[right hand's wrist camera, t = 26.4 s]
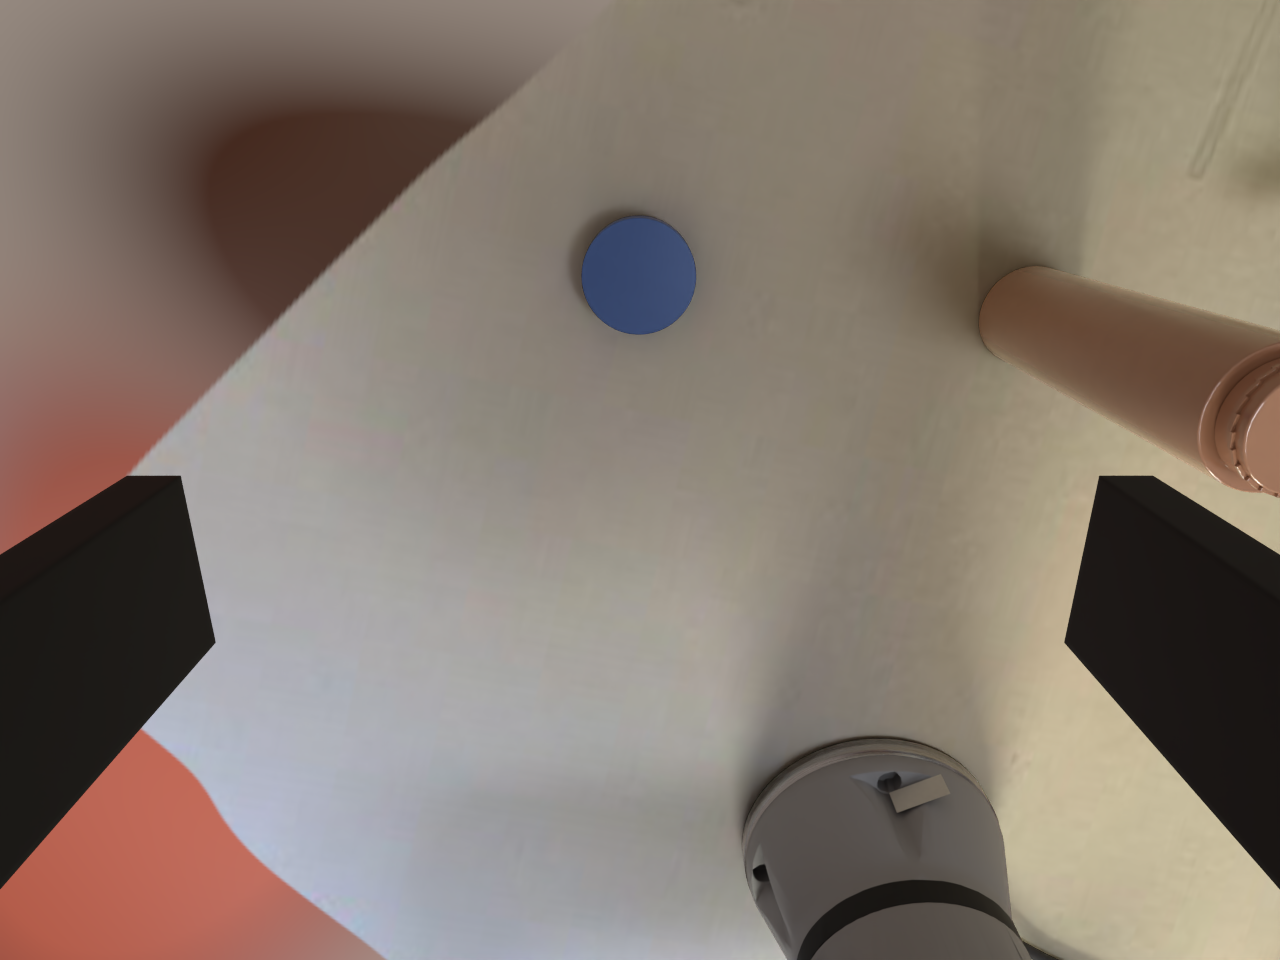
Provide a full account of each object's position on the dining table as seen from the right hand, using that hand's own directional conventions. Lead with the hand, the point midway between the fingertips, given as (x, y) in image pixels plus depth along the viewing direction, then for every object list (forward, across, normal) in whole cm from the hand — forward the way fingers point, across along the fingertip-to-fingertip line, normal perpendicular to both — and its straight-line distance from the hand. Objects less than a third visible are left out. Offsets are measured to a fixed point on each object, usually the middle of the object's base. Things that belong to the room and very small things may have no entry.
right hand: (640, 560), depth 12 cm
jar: (+29, +18, -2) cm, 35 cm away
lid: (+28, 0, 0) cm, 28 cm away
